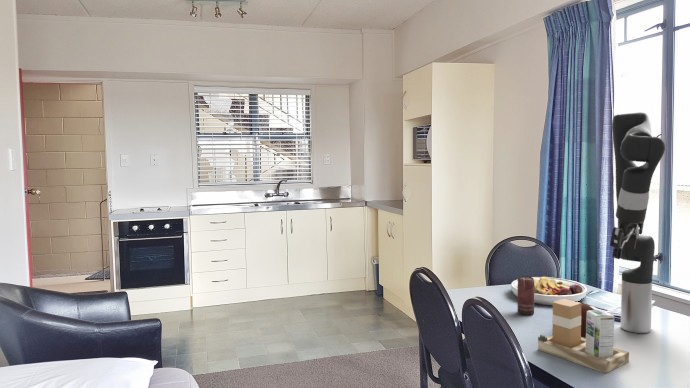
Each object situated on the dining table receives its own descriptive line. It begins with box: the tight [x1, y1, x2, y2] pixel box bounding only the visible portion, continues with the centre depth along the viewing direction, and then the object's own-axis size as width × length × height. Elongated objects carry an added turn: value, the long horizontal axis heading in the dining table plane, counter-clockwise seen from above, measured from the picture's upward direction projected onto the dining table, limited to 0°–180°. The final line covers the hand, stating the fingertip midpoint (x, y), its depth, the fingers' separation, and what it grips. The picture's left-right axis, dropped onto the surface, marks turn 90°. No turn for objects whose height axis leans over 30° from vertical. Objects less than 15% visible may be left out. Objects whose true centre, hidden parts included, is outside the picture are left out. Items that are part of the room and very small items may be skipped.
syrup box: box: [585, 309, 615, 359], centre depth 156 cm, size 6×6×14 cm
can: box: [517, 276, 535, 317], centre depth 201 cm, size 6×6×14 cm
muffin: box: [580, 302, 595, 338], centre depth 180 cm, size 12×11×10 cm
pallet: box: [537, 334, 630, 374], centre depth 161 cm, size 13×22×5 cm, turn 34°
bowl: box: [510, 276, 588, 306], centre depth 223 cm, size 30×30×8 cm
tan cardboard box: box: [551, 299, 582, 348], centre depth 165 cm, size 6×6×15 cm
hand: (623, 253), depth 156 cm, fingers open, 8 cm apart
